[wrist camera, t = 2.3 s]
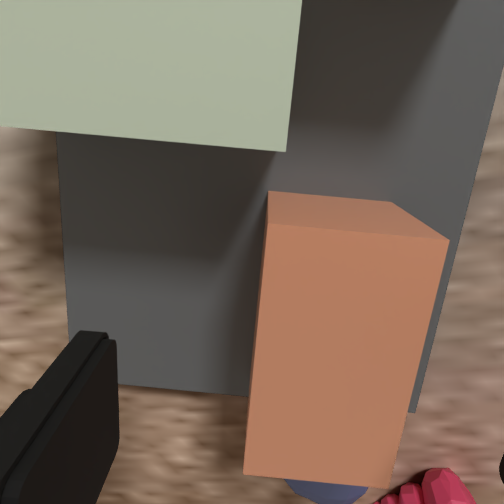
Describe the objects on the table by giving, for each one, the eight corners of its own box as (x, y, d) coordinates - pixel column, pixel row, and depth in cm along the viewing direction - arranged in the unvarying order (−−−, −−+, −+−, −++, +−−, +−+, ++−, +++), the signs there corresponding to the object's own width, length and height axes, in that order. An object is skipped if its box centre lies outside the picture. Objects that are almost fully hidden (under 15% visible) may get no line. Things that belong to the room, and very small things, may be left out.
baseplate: (407, 398, 18) (415, 413, 17) (81, 366, 19) (71, 379, 18) (600, -392, 11) (632, -443, 10) (38, -434, 11) (17, -487, 10)
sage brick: (295, -5, 13) (310, -79, 8) (280, 141, 14) (285, 151, 9) (45, -26, 13) (-84, -112, 8) (55, 121, 14) (-51, 121, 10)
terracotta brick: (355, 387, 17) (388, 488, 12) (250, 376, 17) (242, 474, 12) (391, 201, 15) (449, 240, 10) (268, 190, 15) (268, 223, 10)
